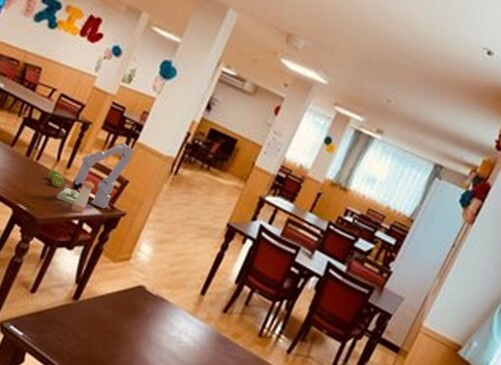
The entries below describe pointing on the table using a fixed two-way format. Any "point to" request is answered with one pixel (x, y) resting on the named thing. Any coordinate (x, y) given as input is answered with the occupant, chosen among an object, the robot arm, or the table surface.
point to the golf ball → (73, 192)
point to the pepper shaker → (83, 196)
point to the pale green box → (67, 195)
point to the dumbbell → (56, 178)
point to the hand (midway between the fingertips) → (73, 192)
